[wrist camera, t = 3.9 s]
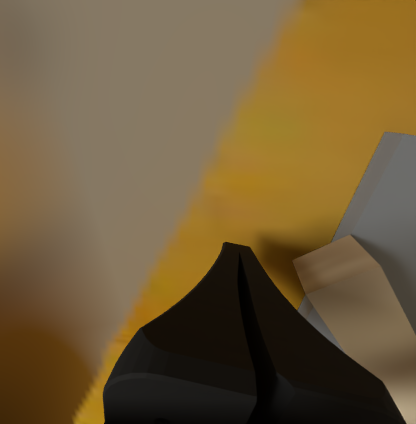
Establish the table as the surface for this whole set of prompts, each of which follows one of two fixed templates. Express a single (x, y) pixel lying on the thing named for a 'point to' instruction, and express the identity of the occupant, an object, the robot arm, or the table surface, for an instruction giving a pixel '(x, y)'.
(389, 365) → the stool leg
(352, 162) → the table surface
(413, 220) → the stool seat
